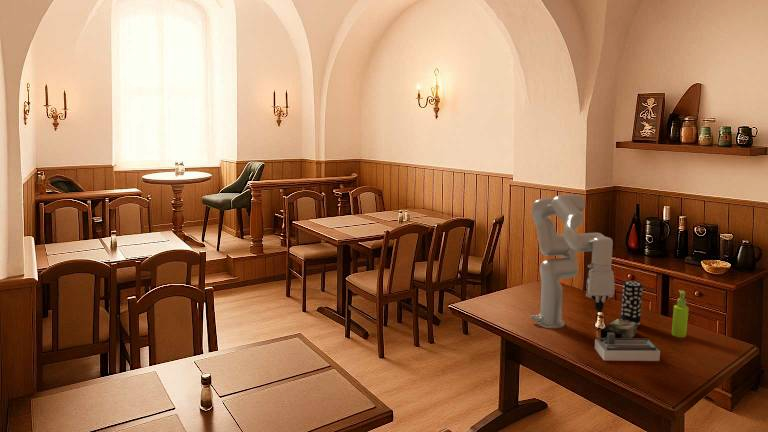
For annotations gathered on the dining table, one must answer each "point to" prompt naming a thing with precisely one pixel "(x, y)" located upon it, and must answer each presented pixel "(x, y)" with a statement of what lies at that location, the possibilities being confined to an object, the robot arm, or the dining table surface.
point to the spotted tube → (631, 301)
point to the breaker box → (627, 350)
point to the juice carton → (620, 328)
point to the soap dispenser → (680, 317)
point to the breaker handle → (610, 338)
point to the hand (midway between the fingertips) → (598, 310)
